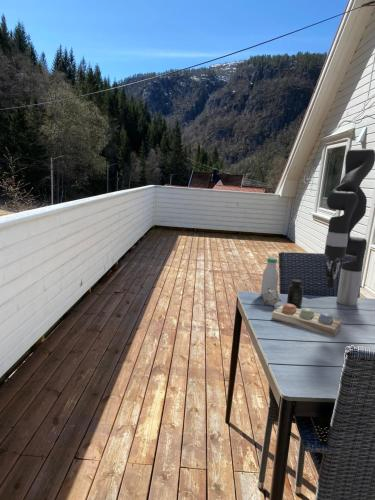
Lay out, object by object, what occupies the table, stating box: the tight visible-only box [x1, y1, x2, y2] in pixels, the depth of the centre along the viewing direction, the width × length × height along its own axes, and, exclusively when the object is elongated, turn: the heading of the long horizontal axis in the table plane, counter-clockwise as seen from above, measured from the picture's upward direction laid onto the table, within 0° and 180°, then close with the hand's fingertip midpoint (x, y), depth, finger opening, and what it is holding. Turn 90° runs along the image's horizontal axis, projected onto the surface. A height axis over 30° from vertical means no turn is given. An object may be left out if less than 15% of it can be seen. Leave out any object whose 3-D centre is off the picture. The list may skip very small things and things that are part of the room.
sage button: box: [300, 307, 315, 319], centre depth 140 cm, size 5×5×3 cm
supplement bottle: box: [286, 278, 304, 308], centre depth 161 cm, size 7×7×12 cm
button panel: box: [271, 304, 343, 337], centre depth 140 cm, size 12×25×3 cm, turn 54°
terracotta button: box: [282, 303, 297, 314], centre depth 144 cm, size 5×5×3 cm
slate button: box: [318, 312, 334, 324], centre depth 136 cm, size 5×5×3 cm
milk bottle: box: [260, 257, 279, 298], centre depth 170 cm, size 8×8×20 cm
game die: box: [259, 288, 282, 308], centre depth 158 cm, size 9×8×10 cm
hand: (330, 287), depth 133 cm, fingers closed
